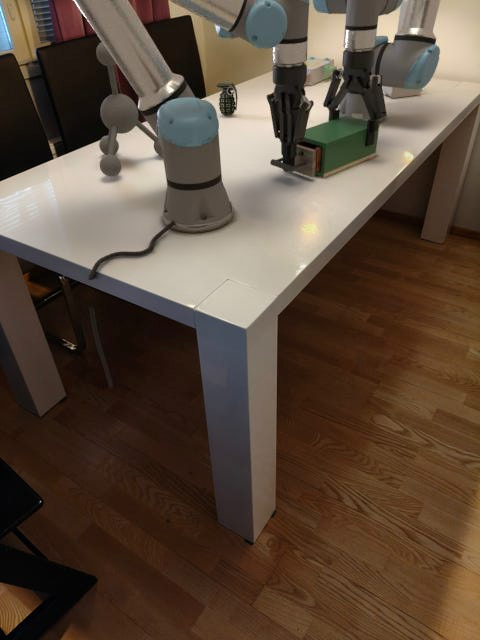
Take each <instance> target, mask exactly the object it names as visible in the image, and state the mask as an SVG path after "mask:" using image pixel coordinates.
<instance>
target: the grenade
mask: <svg viewBox="0 0 480 640" xmlns="http://www.w3.org/2000/svg"><path fill="white" fill-rule="evenodd" d="M215 87H217V88H219V89H221V93H219V97H218V101H219V102H218V106H219V108H218V109H219V112H220V114H221V115H222V116H224V117H231V116H233V115H234V113H235V112H236V111H237V108H238V89H237V87H236V85H235V84H234V83H233V82H218V83H217V84H216V86H215ZM232 91H233V92H232ZM234 94H235V96H234Z"/></svg>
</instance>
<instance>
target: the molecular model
mask: <svg viewBox="0 0 480 640" xmlns="http://www.w3.org/2000/svg"><path fill="white" fill-rule="evenodd" d="M95 51H96V52H95V53H96V59H97V60H98V61H99V63H100V64H102V65H103V66H105V67H106V68H107V72H108V77H109V82H110V87H111V93H112V94H109V95H108V96H107V97H105V99H103V101H102V103H101V106H100V113H99V114H100V118H101V121H102V123H103V124H104V126H105V127H106V128H107V129H108V130H109V131H108V135H104V136H102V137H101V138H100V140H99V143H98V145H99V151H101V153H102V154H104V156H102V157H101V158H100V161H99V169H100V172H101V173H102V174H103V175H105V176H106V177H110V178H113V177H116V176H118V175H119V174H120V173H121V170H122V162H121V160H120V159H119V157H118V156H116V154H117V153H118V152H119V149H120V144H119V141H118V140H117V136H118V134H120V135H121V134H127V133H130V132H131V131H133V130H134V129H135V127H137V128H138V129H139V130H140V131H141V132H143V133H144V134H145V135H146V136H147V137H148V138H149V139H151V140H152V141H153V150H154V151H155V153H156V154H157V155H158V156H160V157H163V154H162V148H161V145H160V143H159V140H158V137H157V135H156V134H155V133H154V132H152V131H151V130H150V129H149V128H148V127H146V126H145V124H143V123H142V122H141V121H140V120H139V109H138V106H137V104H136V103H135V101H134V100H133V99H132V98H131V97H129V96H128V95H127V94H124V93H119V88H118V84H117V78H116V73H115V67H114V66H115V65H117V64H116V62H115V61H114V59H113V58H112V56H111V55H110V53H109V52H108V50H107V49H106V47H105V46H104V44H103V43H102V41H101V42H99V43H98V45H97V47H96V49H95Z"/></svg>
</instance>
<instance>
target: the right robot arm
mask: <svg viewBox="0 0 480 640" xmlns="http://www.w3.org/2000/svg"><path fill="white" fill-rule="evenodd" d="M402 2H403V0H312V4H313V8H314V10H315V11H316V12H317V13H320V14H328V15H336V14H337V15H345V25H344V35H343V48H344V50H343V52H342V64H341V66H342V67H343V69H342V68H337V69H336V70H333V74H332V75H331V81H330V84H329V87H328V89H327V92H326V95H325V97H324V101H323V103H322V106H323V107H324V108H327V110H328V121H331V120H334V119H337V118H340V117H343V116H348V117H353V118H357V119H361V120H366V121H368V122H367V132H366V141H365V146H367V147H368V146H370V145H373V144H374V137H375V133H376V132H377V131H378V124H379V125H380V122H382V121H384V120H385V118H386V117H387V116H388V113H387V107H386V101H385V96H384V92H383V86H386V87H395V88H403V89H407V90H409V89H422V90H423V89H424V88H425V87H427V85H428V84H429V83H430V82H431V80H432V78H433V77H434V75H435V72H436V70H437V68H438V64H439V61H440V54H441V49H440V47H439V45H437V44H436V43H437V36H436V34H435V33H434V28H435V24H436V20H437V16H438V11H439V7H440V4H441V0H408V3H407V7H406V12H405V16H404V21H403V25H402V29H401V30H400V31H399V32H397V31H396V33H395V34H394V37H393V42H389V37H388V35H377V34H378V23H379V17H381V16H384V15H390V14H391V13H393V12H395V11H397V10H398V9H400V7H401V3H402ZM342 79H343V82H342ZM341 82H342V84H341ZM378 132H379V131H378Z"/></svg>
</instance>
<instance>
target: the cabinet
mask: <svg viewBox="0 0 480 640" xmlns="http://www.w3.org/2000/svg"><path fill="white" fill-rule="evenodd" d="M367 122H368V121H366V120H361V119H357V118H353V117H348V116H343V117H340V118H337V119H334V120H331V121H329V120H328V121H326V122H322V123H320V124H317V125H313V126H311V127H308V128H306V132H305V137H304V142H308V143H311V144H314V145H318V146H321V147H323V148H322V166H321V170H320V171H317V172H316V171H315V176H318V177H321V178H327V177H329V176H332V175H334V174H336V173H339V172H342V171H343V170H345V169H349V168H351V167H352V166H355V165H358V164H360V163H362V162H364V161H367V160H370V159H372V158H374V157H376V156H377V146H378V137H379V131H380V123H379V124H378V131H377V132H376V133H375V137H374V144H373V145H370V146H368V147H367V146H365V141H366V132H367Z"/></svg>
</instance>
